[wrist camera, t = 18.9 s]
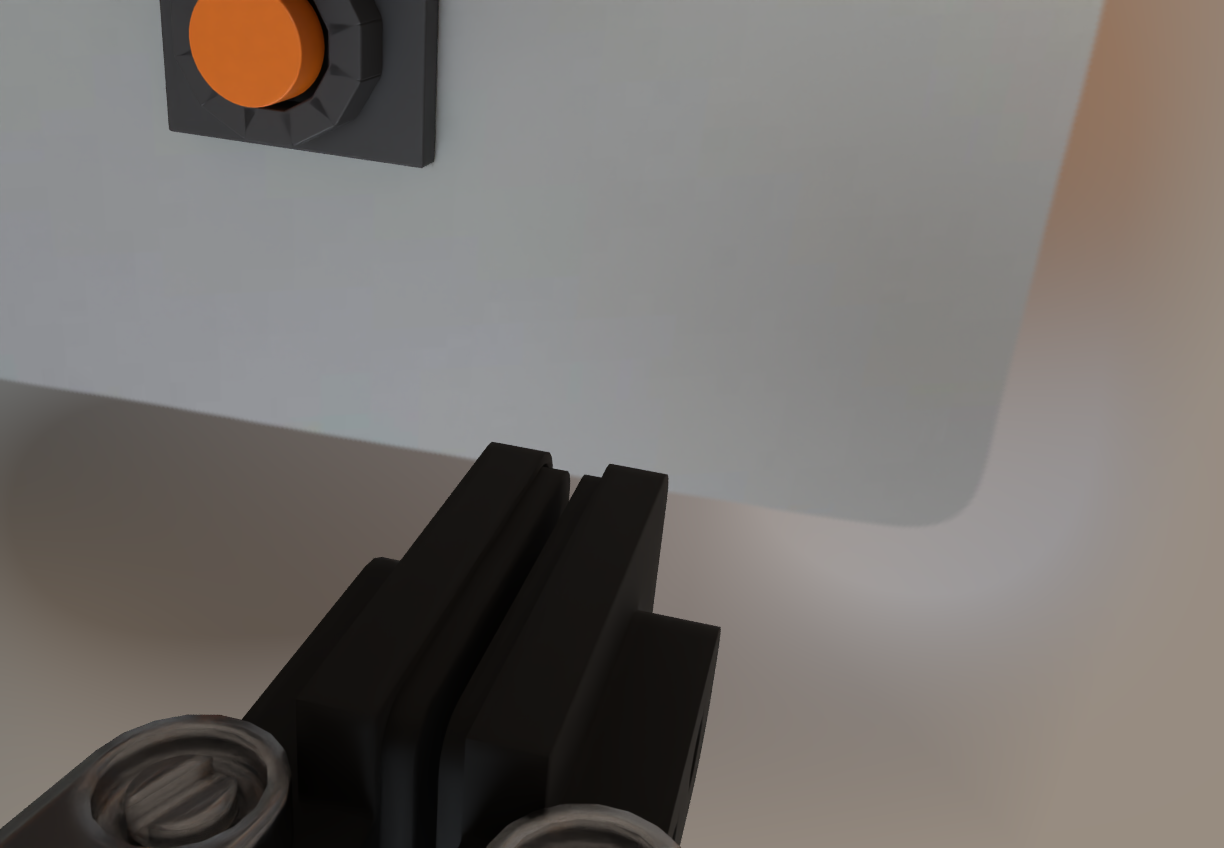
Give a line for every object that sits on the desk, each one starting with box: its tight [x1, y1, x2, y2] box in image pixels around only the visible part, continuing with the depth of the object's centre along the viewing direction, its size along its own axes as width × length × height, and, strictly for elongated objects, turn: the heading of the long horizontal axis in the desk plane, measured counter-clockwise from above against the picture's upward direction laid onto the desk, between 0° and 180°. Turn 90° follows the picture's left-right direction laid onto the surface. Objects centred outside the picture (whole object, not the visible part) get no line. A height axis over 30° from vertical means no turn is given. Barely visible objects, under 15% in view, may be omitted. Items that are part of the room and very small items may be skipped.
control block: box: [160, 0, 438, 168], centre depth 40 cm, size 10×8×3 cm
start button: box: [189, 0, 325, 108], centre depth 38 cm, size 4×4×2 cm
